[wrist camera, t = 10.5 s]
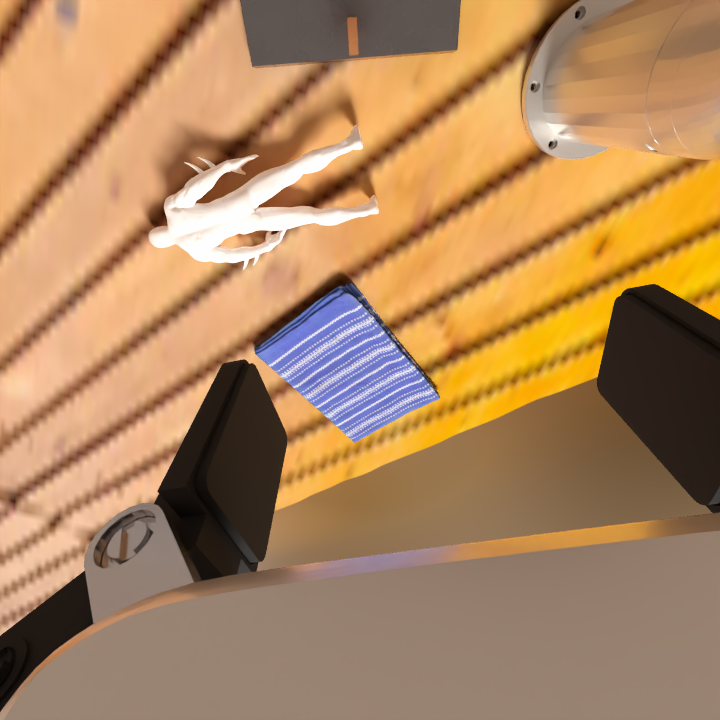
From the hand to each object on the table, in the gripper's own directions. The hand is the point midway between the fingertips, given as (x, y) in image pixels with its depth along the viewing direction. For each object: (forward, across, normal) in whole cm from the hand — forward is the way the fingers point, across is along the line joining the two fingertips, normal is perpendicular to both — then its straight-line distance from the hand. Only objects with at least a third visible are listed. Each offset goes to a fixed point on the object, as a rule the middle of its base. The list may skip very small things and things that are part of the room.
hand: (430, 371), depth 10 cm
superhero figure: (+35, +12, 0) cm, 37 cm away
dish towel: (+36, +8, +24) cm, 44 cm away
